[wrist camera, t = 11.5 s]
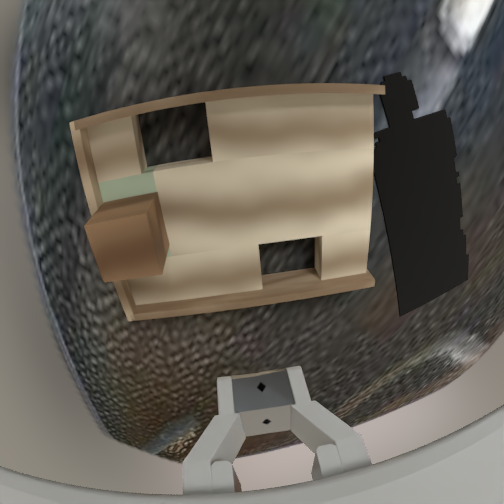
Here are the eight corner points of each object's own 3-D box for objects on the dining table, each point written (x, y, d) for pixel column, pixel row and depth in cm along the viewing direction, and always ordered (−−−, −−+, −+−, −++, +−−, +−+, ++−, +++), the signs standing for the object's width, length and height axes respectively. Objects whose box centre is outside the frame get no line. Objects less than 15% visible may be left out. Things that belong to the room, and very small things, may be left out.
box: (87, 117, 24) (69, 122, 20) (364, 84, 25) (384, 85, 21) (135, 297, 33) (128, 321, 30) (359, 266, 34) (374, 286, 31)
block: (104, 202, 25) (84, 225, 21) (157, 191, 25) (146, 214, 21) (118, 252, 28) (104, 282, 23) (169, 244, 28) (162, 274, 23)
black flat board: (400, 316, 39) (348, 86, 25) (398, 313, 40) (346, 86, 25) (467, 279, 38) (443, 62, 24) (465, 277, 39) (440, 62, 24)
